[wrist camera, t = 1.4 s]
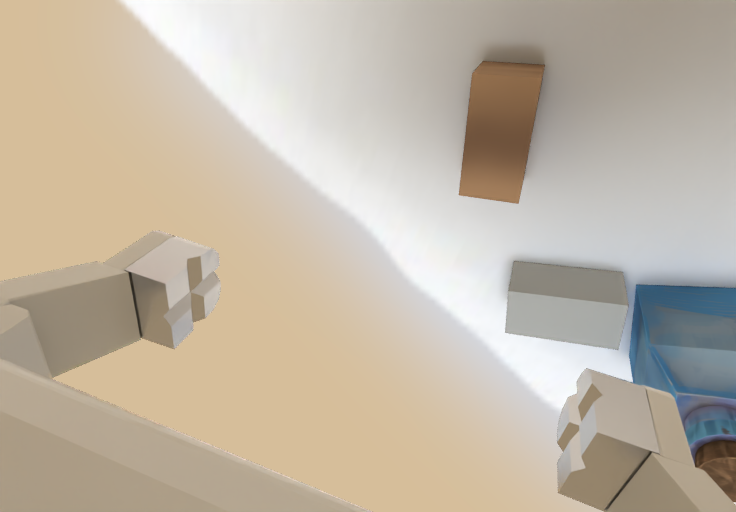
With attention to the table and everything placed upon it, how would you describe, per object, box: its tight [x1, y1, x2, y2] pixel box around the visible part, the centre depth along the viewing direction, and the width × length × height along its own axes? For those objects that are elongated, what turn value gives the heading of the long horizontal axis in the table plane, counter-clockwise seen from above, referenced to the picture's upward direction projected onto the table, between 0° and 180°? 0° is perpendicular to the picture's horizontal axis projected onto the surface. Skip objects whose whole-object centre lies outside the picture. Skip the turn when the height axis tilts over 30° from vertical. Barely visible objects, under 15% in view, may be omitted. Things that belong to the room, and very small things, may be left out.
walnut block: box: [459, 61, 545, 204], centre depth 28 cm, size 7×4×4 cm, turn 0°
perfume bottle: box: [629, 285, 736, 502], centre depth 27 cm, size 6×6×12 cm
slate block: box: [505, 261, 629, 350], centre depth 32 cm, size 7×4×4 cm, turn 95°
